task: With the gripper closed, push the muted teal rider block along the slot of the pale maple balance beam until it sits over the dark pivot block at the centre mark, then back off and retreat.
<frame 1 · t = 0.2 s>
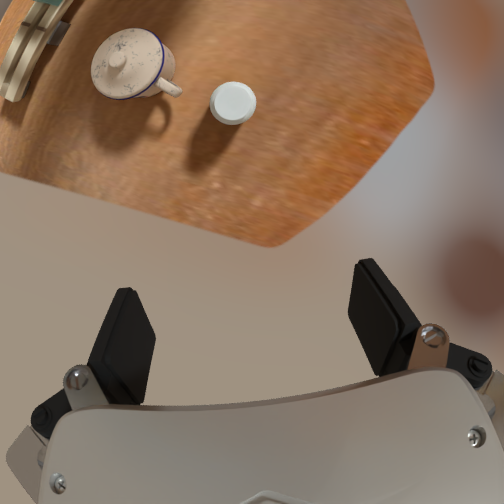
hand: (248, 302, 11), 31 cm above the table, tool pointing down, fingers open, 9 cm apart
beam: (50, 30, 22), on the table
teacup with lid: (154, 74, 31), on the table
supplement bottle: (232, 103, 34), on the table
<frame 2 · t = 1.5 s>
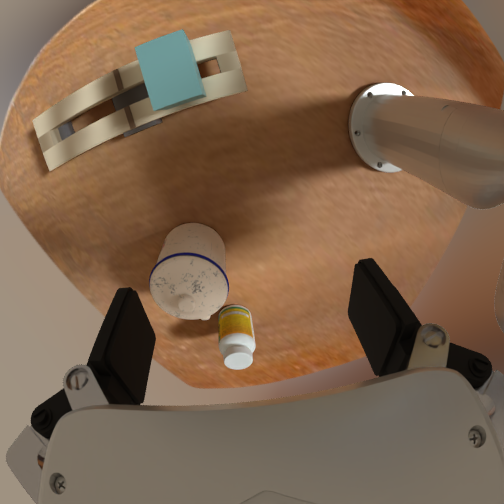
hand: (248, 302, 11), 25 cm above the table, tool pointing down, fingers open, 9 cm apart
beam: (137, 98, 27), on the table
teacup with lid: (196, 258, 39), on the table
rider: (175, 74, 20), point 7 cm above the table, slide at -6.0 cm
supplement bottle: (234, 314, 45), on the table
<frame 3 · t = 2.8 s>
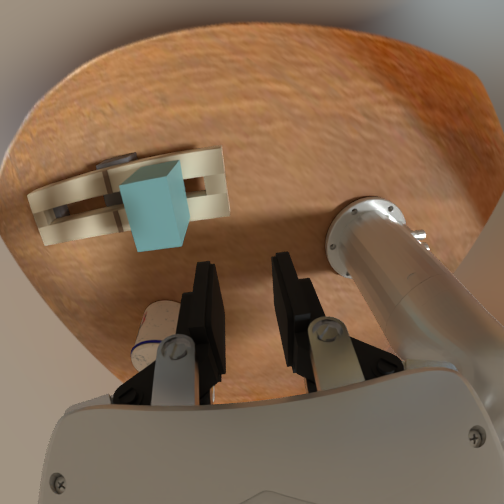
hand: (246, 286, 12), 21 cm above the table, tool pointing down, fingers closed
beam: (127, 187, 30), on the table
teacup with lid: (172, 325, 42), on the table
rider: (160, 199, 24), point 7 cm above the table, slide at -6.0 cm
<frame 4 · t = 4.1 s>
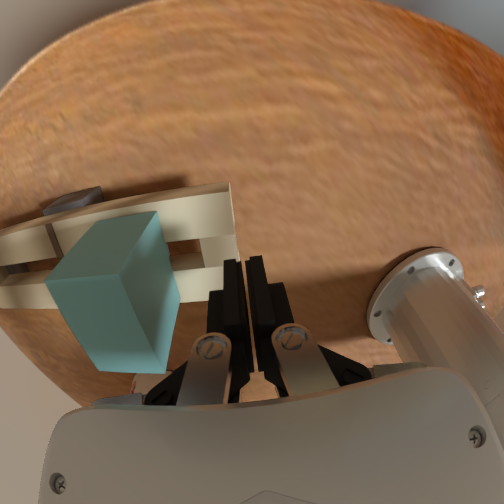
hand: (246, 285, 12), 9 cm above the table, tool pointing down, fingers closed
beam: (93, 236, 20), on the table
teacup with lid: (168, 391, 32), on the table
rider: (128, 281, 14), point 7 cm above the table, slide at -6.0 cm
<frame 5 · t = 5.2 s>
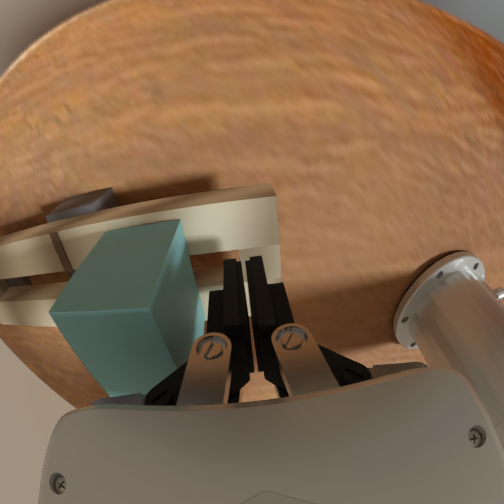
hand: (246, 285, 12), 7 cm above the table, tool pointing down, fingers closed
beam: (104, 243, 18), on the table
rider: (148, 303, 12), point 7 cm above the table, slide at -5.6 cm, touching gripper
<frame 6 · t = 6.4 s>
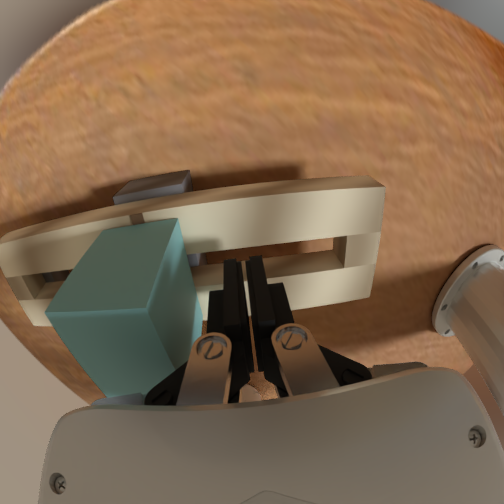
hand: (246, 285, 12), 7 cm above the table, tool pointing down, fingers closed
beam: (171, 232, 18), on the table
rider: (145, 302, 12), point 7 cm above the table, slide at 0.0 cm
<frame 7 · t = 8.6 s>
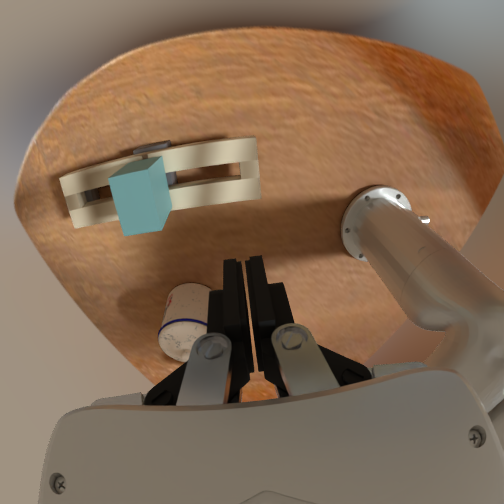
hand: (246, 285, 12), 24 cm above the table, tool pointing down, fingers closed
beam: (160, 173, 33), on the table
teacup with lid: (194, 308, 45), on the table
rider: (145, 190, 27), point 7 cm above the table, slide at 0.1 cm
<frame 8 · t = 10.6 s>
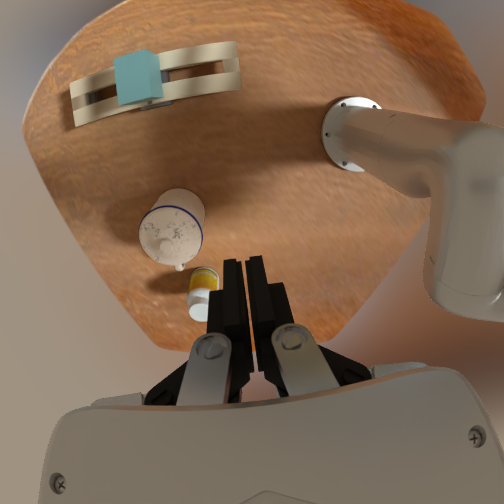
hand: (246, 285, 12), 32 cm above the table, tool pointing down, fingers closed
beam: (156, 82, 33), on the table
teacup with lid: (180, 220, 45), on the table
rider: (141, 79, 27), point 7 cm above the table, slide at 0.1 cm
supplement bottle: (204, 277, 51), on the table
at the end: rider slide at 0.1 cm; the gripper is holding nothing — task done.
